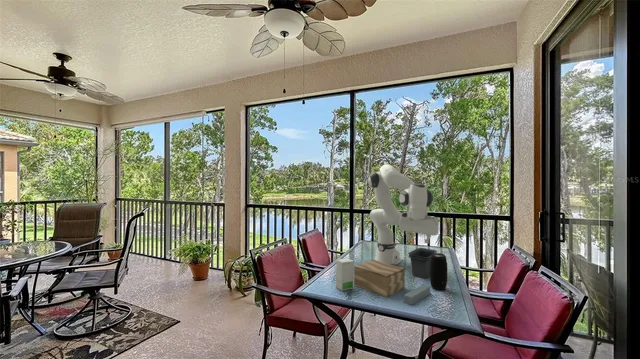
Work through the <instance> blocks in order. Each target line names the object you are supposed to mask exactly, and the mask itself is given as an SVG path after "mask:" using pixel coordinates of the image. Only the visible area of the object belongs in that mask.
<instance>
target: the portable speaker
mask: <svg viewBox="0 0 640 359" xmlns="http://www.w3.org/2000/svg"><path fill="white" fill-rule="evenodd" d="M429 281H430V288H432V290H435V291H439V290H443V291H446V289H447V283H448V261H447V256H446V255H445V254H444V253H441V252H440V253H439V252H437V254H432V255H431V261H430V275H429Z"/></svg>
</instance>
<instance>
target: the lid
mask: <svg viewBox="0 0 640 359" xmlns="http://www.w3.org/2000/svg"><path fill="white" fill-rule="evenodd" d="M354 268H357V269H360V270H363V271H366V272H370V273H373V274H376V275H379V276H382V277H385V278H388V277H390V276H393V275H395V274H397V273H399V272H402V271H404V270H406V269H405V268H404V267H400V266H397V265H394V264H387V263H383V262H379V261H376V260H375V259H371V260H368V261H365V262H362V263H359V264H355V265H354Z"/></svg>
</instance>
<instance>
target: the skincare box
mask: <svg viewBox="0 0 640 359" xmlns="http://www.w3.org/2000/svg"><path fill="white" fill-rule="evenodd" d="M335 262H336V267H335V269H336V271H335V272H336V273H335V287H336V289H338V290H340V291H347V290H352V289H353V290H354V266H355V265H354V264H355V263H354V262H355V261H354V260H352V259H350V258H341V259H336V261H335Z"/></svg>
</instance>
